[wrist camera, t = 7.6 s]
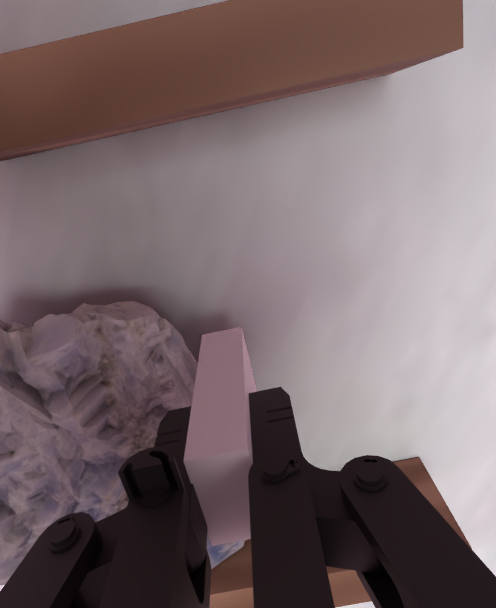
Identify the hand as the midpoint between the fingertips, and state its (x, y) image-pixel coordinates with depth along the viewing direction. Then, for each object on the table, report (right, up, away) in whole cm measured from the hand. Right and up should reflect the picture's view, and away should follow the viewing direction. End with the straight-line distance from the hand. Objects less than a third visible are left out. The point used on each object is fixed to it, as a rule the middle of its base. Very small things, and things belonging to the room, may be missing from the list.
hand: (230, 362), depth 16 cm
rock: (-6, -3, +4) cm, 7 cm away
